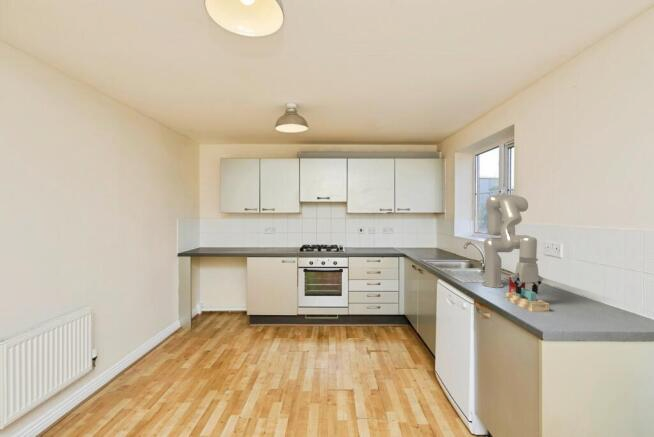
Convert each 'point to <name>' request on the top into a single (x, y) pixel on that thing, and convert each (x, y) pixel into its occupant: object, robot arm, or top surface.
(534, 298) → the teal long block
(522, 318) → the top surface
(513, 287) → the canned food
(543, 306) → the tan slotted block
